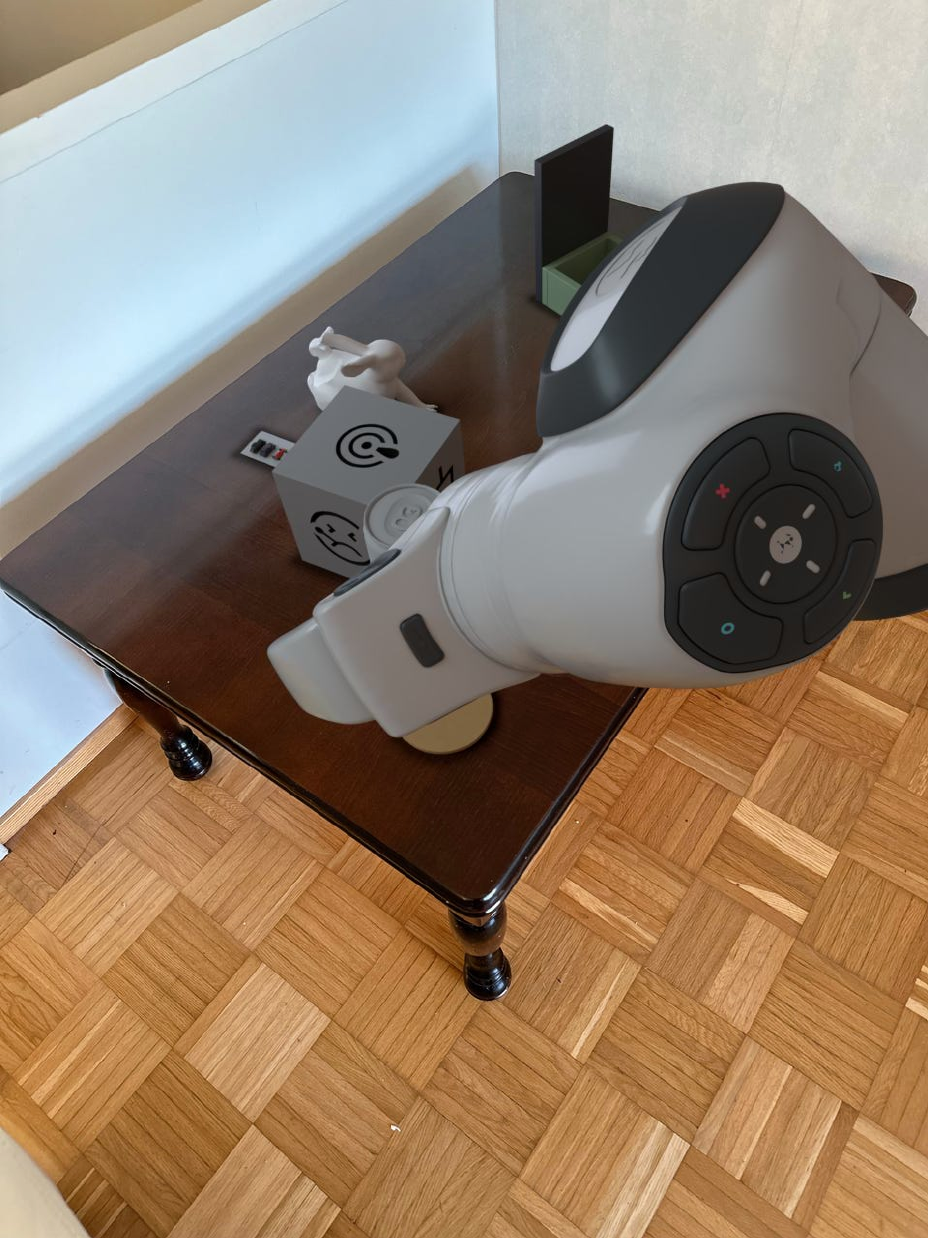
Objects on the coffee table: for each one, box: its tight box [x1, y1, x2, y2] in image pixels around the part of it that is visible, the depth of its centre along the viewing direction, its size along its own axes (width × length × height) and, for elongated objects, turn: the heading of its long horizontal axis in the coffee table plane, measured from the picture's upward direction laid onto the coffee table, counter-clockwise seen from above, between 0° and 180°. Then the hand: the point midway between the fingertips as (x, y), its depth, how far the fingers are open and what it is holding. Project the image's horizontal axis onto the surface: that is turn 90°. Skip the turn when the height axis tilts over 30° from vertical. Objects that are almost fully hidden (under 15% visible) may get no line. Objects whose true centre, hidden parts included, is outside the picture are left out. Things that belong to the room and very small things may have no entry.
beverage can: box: [363, 483, 440, 562], centre depth 52 cm, size 5×5×12 cm
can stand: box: [533, 123, 624, 317], centre depth 83 cm, size 10×9×14 cm
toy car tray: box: [240, 430, 296, 468], centre depth 79 cm, size 3×8×1 cm, turn 60°
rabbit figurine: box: [307, 326, 439, 413], centre depth 78 cm, size 12×8×10 cm, turn 62°
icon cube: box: [271, 385, 467, 579], centre depth 69 cm, size 10×10×10 cm
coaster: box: [402, 693, 494, 755], centre depth 64 cm, size 7×7×1 cm
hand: (412, 574), depth 51 cm, fingers closed on beverage can, 5 cm apart
